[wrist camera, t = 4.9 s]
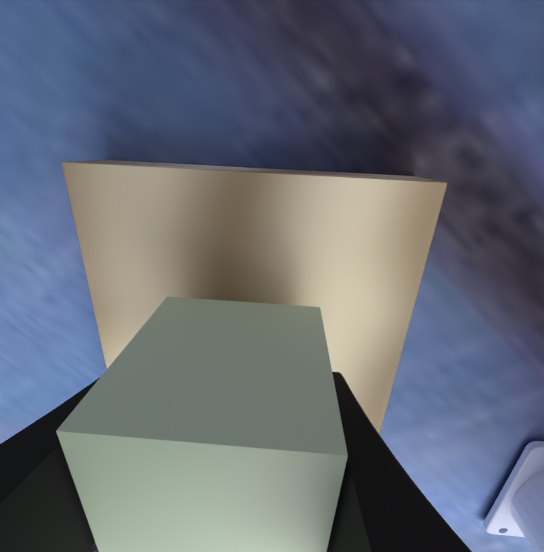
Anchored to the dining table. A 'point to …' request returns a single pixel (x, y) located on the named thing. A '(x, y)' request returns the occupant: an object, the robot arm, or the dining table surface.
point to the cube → (212, 433)
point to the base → (260, 251)
